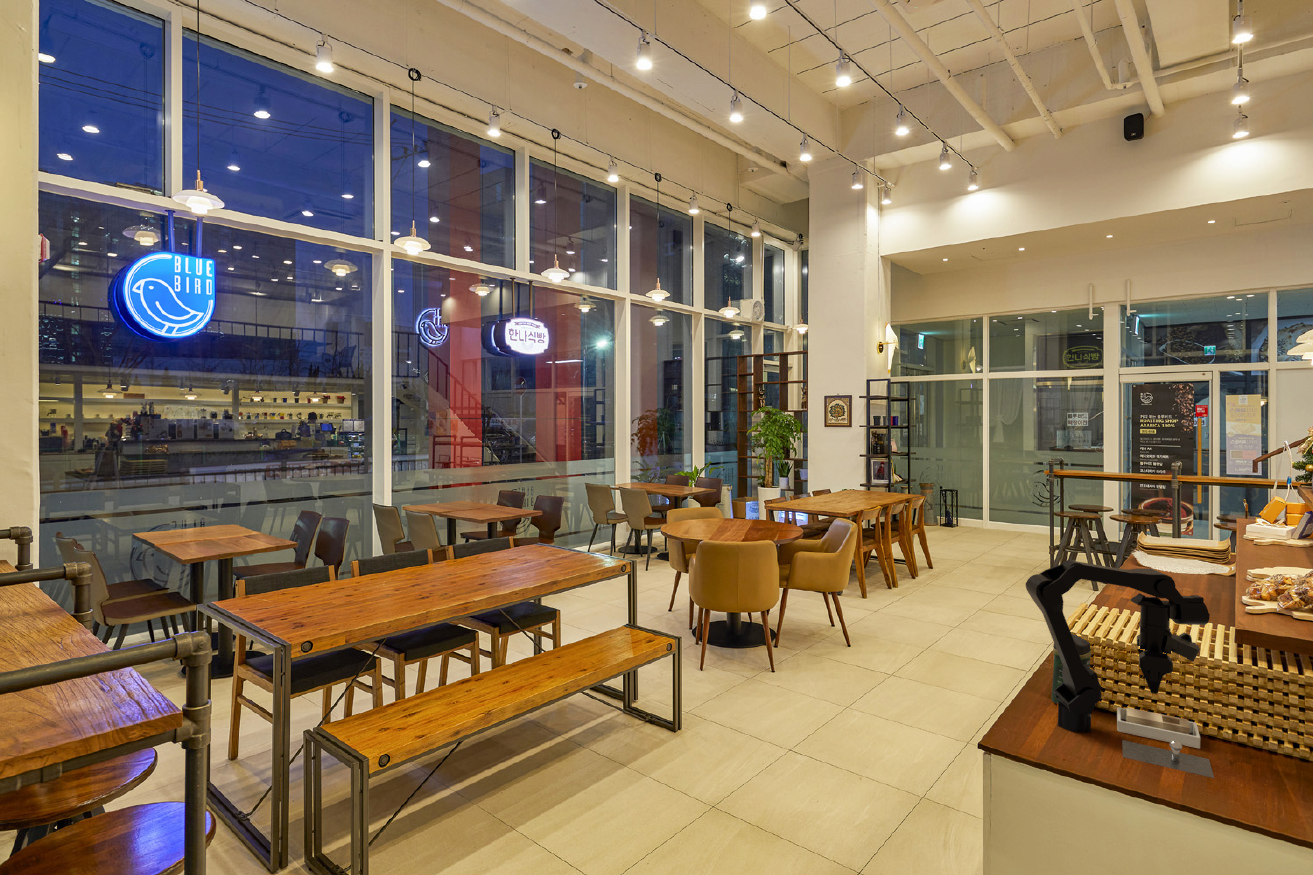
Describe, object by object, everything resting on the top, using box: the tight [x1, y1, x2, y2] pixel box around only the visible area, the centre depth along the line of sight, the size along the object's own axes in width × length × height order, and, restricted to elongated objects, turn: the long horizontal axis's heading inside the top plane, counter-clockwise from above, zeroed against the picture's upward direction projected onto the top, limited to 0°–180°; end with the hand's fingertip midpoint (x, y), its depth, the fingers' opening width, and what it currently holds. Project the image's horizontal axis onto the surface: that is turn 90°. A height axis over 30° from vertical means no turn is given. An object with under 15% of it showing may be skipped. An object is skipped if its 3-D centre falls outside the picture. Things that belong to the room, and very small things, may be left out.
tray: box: [1116, 706, 1201, 750], centre depth 164 cm, size 16×9×4 cm, turn 57°
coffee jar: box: [1051, 634, 1092, 705], centre depth 182 cm, size 10×8×19 cm
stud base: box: [1121, 739, 1215, 779], centre depth 152 cm, size 16×9×5 cm, turn 57°
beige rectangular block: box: [1125, 707, 1191, 735], centre depth 164 cm, size 12×5×4 cm, turn 57°
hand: (1152, 686), depth 164 cm, fingers open, 9 cm apart
